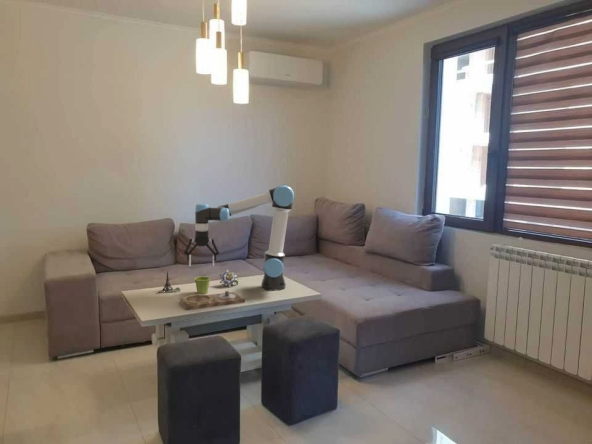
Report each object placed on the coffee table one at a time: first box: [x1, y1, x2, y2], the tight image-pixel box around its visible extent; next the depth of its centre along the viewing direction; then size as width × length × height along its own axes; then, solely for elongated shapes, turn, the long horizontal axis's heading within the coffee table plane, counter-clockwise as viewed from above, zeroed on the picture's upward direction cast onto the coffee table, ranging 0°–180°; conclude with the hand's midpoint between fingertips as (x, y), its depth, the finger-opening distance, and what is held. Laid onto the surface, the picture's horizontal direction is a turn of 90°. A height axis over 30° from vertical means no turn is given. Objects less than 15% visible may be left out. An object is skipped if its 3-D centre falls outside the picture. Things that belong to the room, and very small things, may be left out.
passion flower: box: [219, 269, 239, 288], centre depth 290 cm, size 11×11×12 cm
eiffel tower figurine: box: [161, 270, 181, 294], centre depth 276 cm, size 15×10×13 cm
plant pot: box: [193, 276, 211, 295], centre depth 273 cm, size 9×9×9 cm
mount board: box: [179, 290, 246, 311], centre depth 254 cm, size 32×16×5 cm, turn 119°
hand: (201, 266), depth 271 cm, fingers open, 13 cm apart
